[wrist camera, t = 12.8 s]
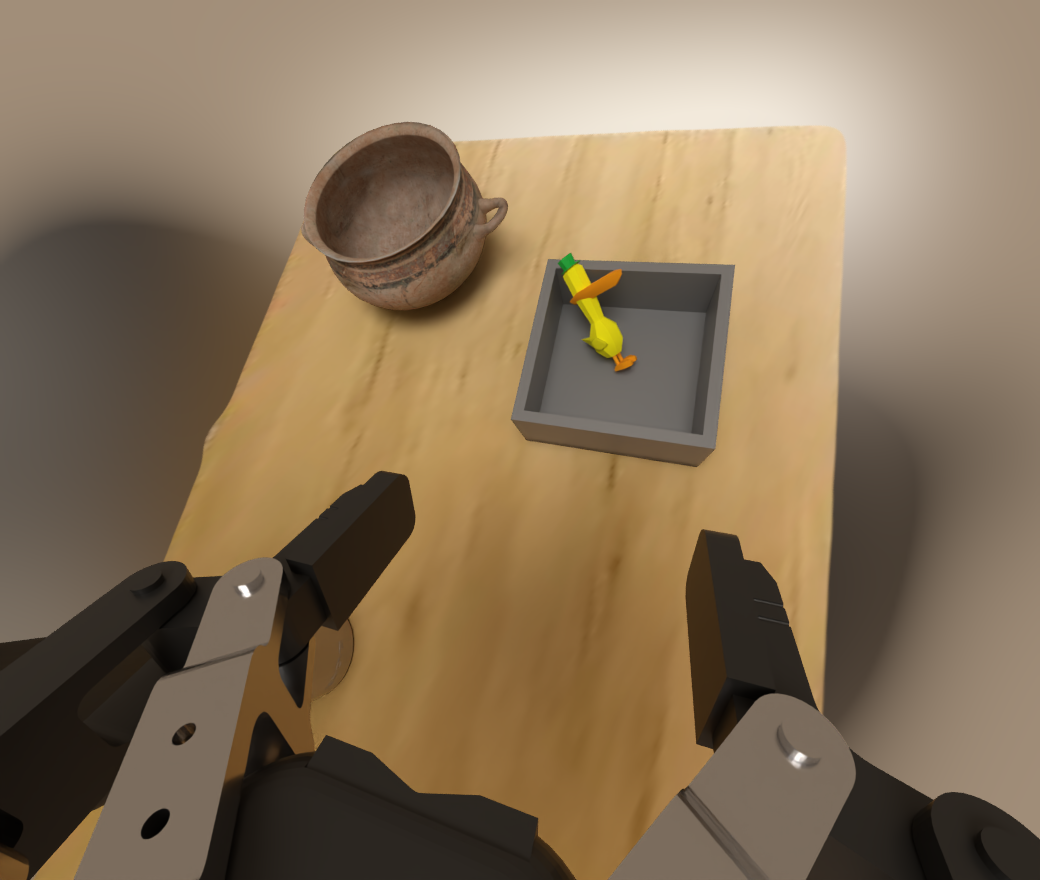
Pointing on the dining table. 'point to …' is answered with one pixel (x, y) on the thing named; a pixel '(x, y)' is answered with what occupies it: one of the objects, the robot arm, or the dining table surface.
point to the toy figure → (596, 310)
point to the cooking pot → (399, 216)
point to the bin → (649, 381)
